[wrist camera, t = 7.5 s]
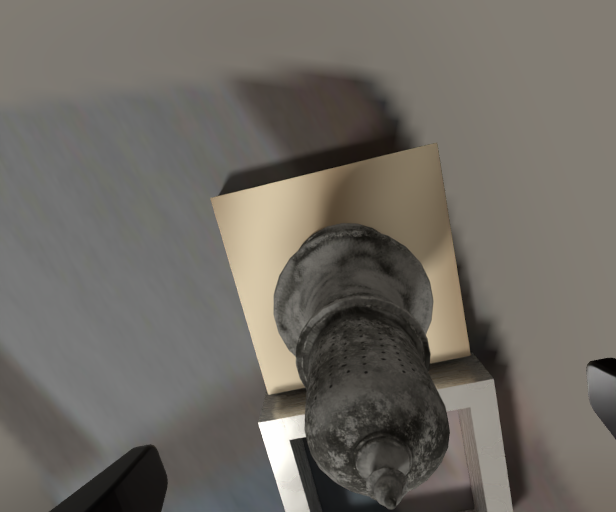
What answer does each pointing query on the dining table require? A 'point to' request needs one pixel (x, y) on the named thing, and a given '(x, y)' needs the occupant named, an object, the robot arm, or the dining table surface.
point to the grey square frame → (455, 395)
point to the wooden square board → (330, 211)
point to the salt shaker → (364, 359)
